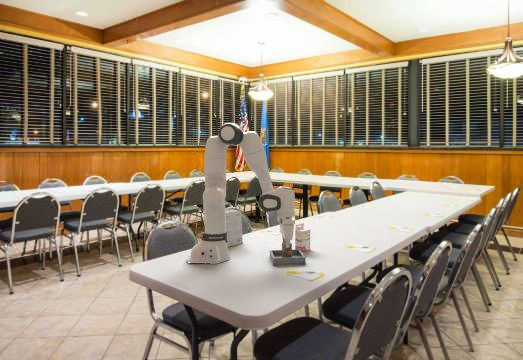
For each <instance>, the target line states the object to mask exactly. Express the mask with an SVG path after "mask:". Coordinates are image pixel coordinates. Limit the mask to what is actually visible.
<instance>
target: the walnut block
mask: <svg viewBox="0 0 523 360" xmlns="http://www.w3.org/2000/svg"><path fill="white" fill-rule="evenodd" d="M285 244H286V242H283V241H282V242H281V250H282V258H284V257H292V249H293V243H292V242H291V241H290V244H289V248H286V246H285Z"/></svg>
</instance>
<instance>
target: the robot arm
mask: <svg viewBox="0 0 523 360" xmlns="http://www.w3.org/2000/svg"><path fill="white" fill-rule="evenodd" d="M235 145H236V146H239V147H240V149H241V151H242V155H243V159H244V160H245V163H246V165H247V167H248V169H249V170H250V171H251V172H253V173H254V174H255V175H256V177H257V180H258V182H259V185H260V188H261V192H262V194H261V196H260V197H259V199H258V206H259V208H260V209H261V210H262V211H263V212H267V213H271V212H275V211H276V213H277V214H276V215H277V219H276V220H277V222H278V223H279V232H280V234H281V236H282V237H281V238H282V242H286V244H285V246H286V248H289V244H290V242H291V241H292V240H293V239H294V232H295V230H294V228H295V227H294V226H295V225H296V218H295V217H296V212H295V205H296V198H295V195H296V194H295V190H294V189H293V188H292V187H289V186H285V185H279V186H278V187H277V188H275V187H274V185H273V182H272V179H271V175H270V172H269V168H268V167H269V166H268V158H267V154H266V150H265V146H264V144H263V142H262V139H261V137H260V135H259V134H258V133H257V131H252V130H250V131H244V128H243V127H242V126H240V125H239V124H237V123H235V122H226V123H223V124H222V125H221V126H220V127H219V129H218V135H213V136H210V137H208V138H207V140H206V142H205V150H204V166H203V167H204V171H203V172H204V187H205V188H204V191H203V193H202V204H203V205H202V206H203V213H204V214H203V216H204V231H201V233H200V237H201V238H200V239H201V240H199V241H198V242H197V243H196V244H194V246H193V247H192V248H191V250H190V255H188V256H187V257H186V263H187V262H190V263H205V265H206V263H210V264H209V265H215V264H216V265H217V264H221V263H223V262H227V261H229V260H231V256H230V252H229V247H228V246H227V241H228V234H227V231H226V211H227V210H226V197H227V150H228V148H229V147H232V146H235ZM190 263H189V264H190Z"/></svg>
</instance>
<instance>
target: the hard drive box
mask: <svg viewBox="0 0 523 360" xmlns="http://www.w3.org/2000/svg"><path fill="white" fill-rule="evenodd" d="M226 231H227V234H228V241H227V246H228V248H229V247H232V246H236V245H240V244H243V241H244V240H243V216H242V210H238V209H237V210H236V209H231V210H226Z"/></svg>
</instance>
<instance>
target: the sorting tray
mask: <svg viewBox="0 0 523 360" xmlns="http://www.w3.org/2000/svg"><path fill="white" fill-rule="evenodd" d="M306 258H307V257H306V256H305V254H304V252H301V250H300V249H295V248H294V249H293V248H292V257H284V258H282V249H270V250H269V259H270V260H271V261H270V262H271V264H272V266H273V267H274V266H292V265H293V266H295V265H306Z"/></svg>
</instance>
